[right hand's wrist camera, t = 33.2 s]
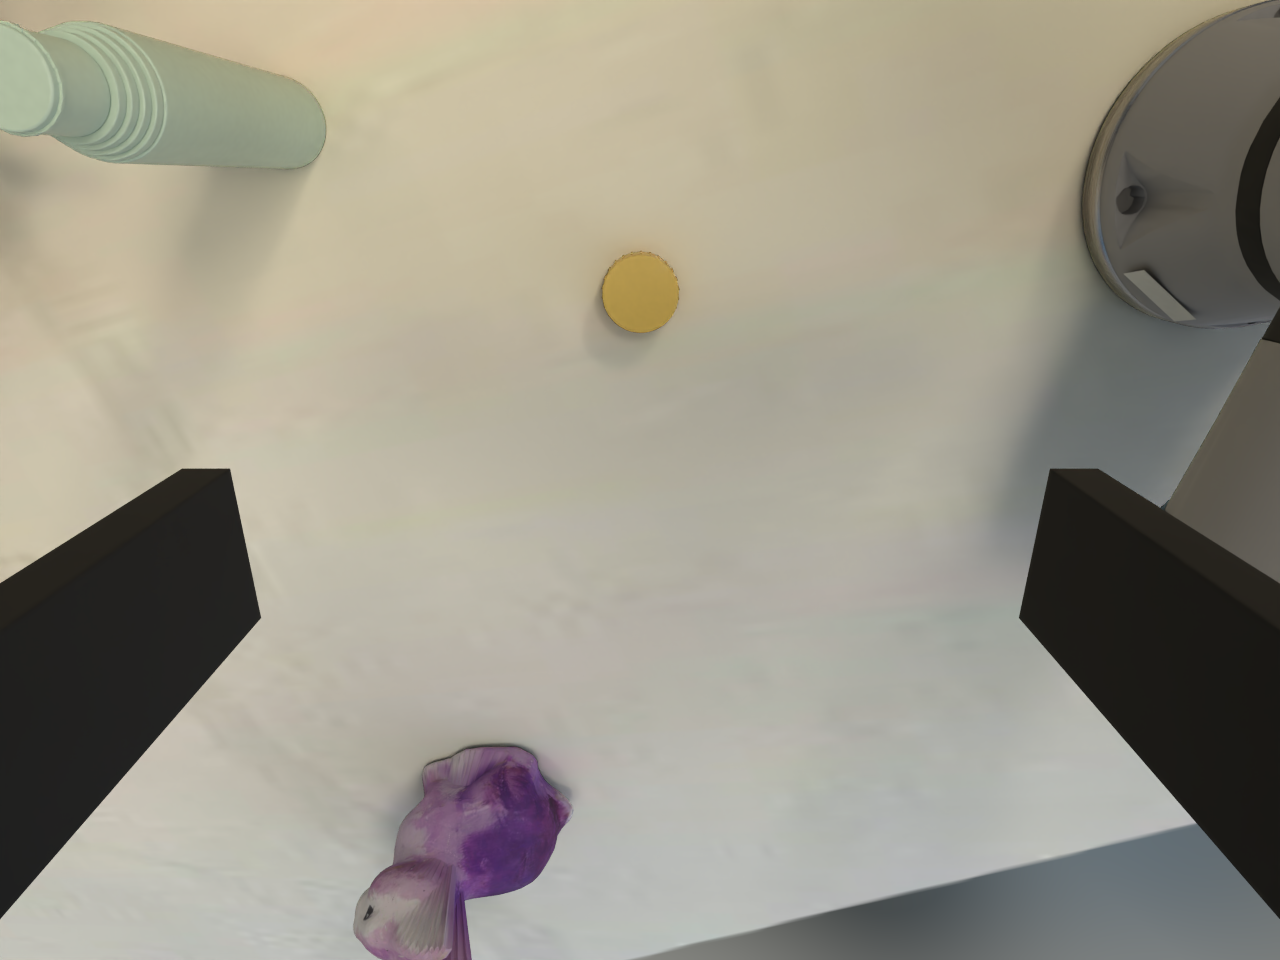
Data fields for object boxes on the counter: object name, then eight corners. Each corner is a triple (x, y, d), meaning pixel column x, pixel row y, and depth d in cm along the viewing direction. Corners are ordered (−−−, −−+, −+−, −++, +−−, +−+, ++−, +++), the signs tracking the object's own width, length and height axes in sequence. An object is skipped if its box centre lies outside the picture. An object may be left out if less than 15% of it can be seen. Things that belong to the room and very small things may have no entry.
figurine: (387, 790, 54) (299, 1001, 40) (487, 710, 52) (430, 907, 38) (483, 864, 57) (432, 1087, 43) (583, 791, 54) (563, 1003, 40)
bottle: (327, 85, 38) (73, 8, 21) (325, 176, 40) (85, 173, 23) (240, 67, 38) (-91, -26, 21) (240, 160, 39) (-67, 144, 22)
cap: (631, 234, 41) (630, 237, 39) (693, 281, 42) (695, 285, 40) (588, 298, 42) (585, 303, 40) (649, 342, 43) (649, 349, 41)
